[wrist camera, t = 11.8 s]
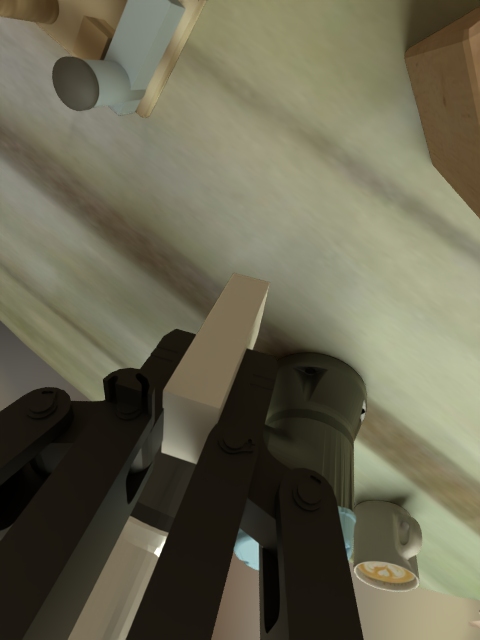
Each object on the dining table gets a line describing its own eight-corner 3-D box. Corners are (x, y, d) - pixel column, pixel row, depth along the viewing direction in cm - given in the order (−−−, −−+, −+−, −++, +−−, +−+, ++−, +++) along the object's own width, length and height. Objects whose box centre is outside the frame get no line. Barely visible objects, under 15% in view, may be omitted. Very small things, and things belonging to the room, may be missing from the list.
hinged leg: (107, 88, 34) (45, 91, 27) (155, -23, 29) (91, -54, 22) (136, 114, 35) (82, 124, 28) (187, 10, 29) (136, -9, 22)
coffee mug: (379, 535, 69) (383, 595, 61) (342, 509, 67) (340, 567, 59) (441, 518, 61) (454, 584, 53) (400, 488, 60) (407, 552, 52)
